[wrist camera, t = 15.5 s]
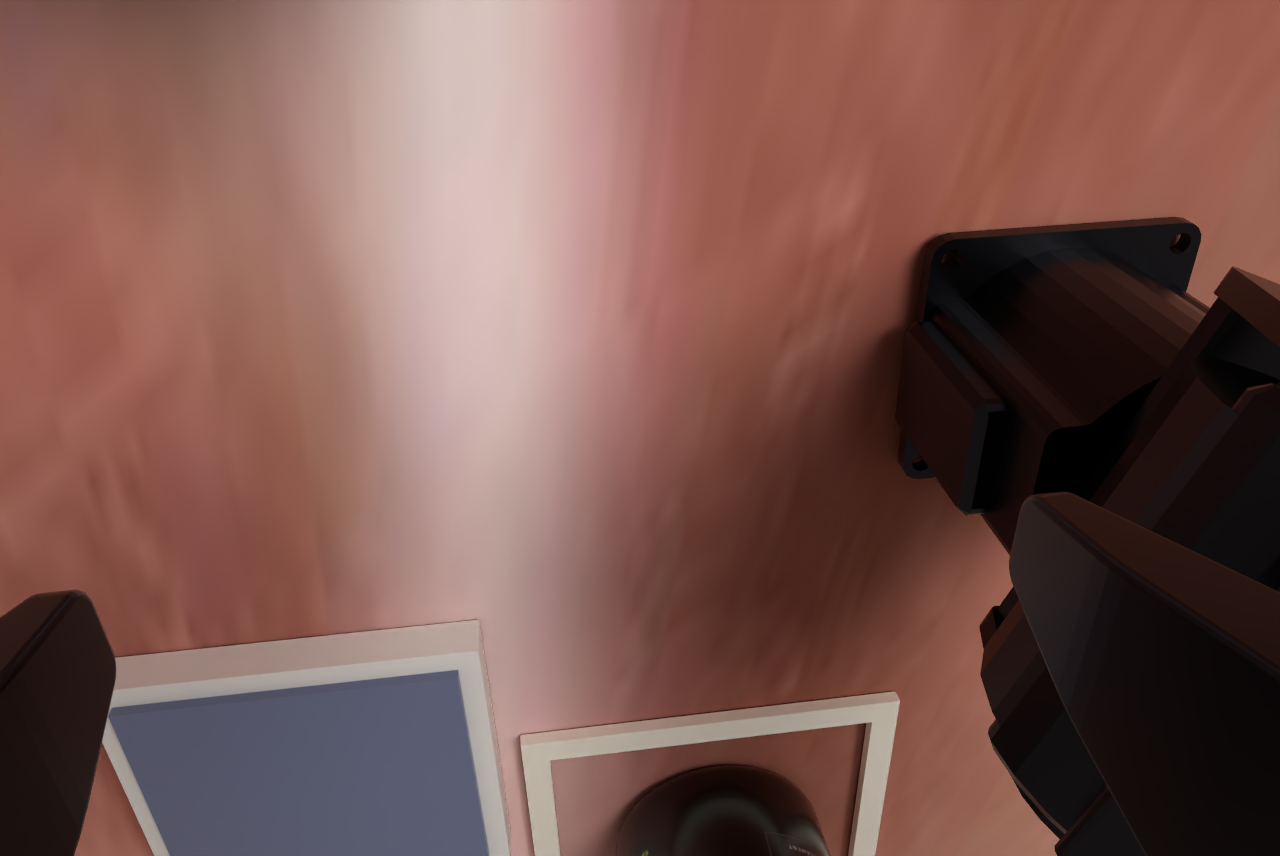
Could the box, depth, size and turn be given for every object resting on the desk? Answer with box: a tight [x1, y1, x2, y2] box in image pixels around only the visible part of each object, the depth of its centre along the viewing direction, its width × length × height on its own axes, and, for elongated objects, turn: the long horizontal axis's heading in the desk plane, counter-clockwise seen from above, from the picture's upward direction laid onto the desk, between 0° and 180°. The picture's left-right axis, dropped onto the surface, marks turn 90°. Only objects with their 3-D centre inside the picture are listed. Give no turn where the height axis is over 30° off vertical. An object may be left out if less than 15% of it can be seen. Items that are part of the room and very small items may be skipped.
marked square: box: [520, 691, 900, 856], centre depth 32 cm, size 12×12×1 cm
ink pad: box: [102, 620, 511, 856], centre depth 28 cm, size 10×9×2 cm
